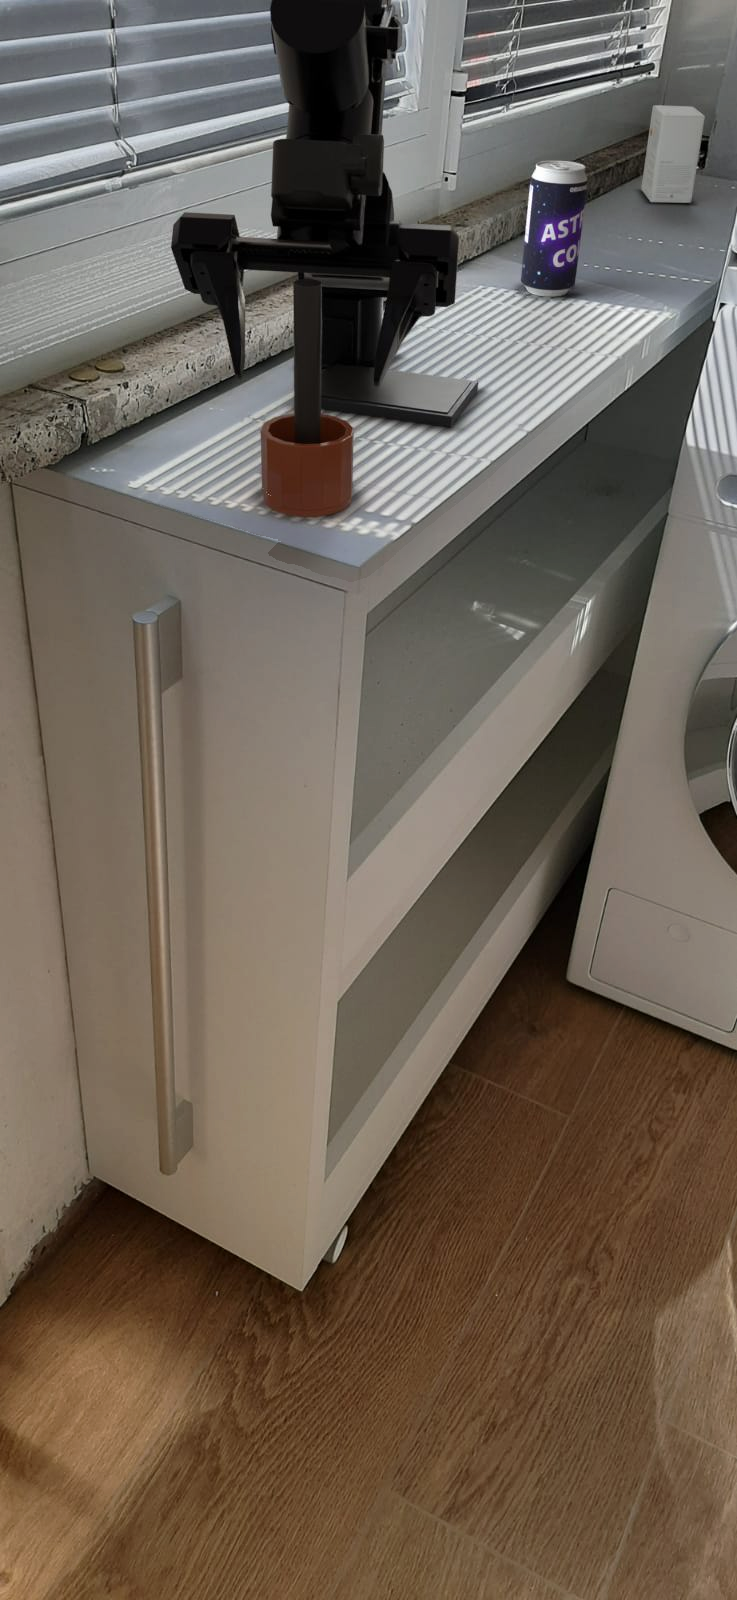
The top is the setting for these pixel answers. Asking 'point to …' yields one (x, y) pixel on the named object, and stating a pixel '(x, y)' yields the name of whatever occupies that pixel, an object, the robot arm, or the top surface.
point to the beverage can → (553, 227)
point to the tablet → (396, 394)
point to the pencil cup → (307, 468)
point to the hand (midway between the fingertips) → (307, 379)
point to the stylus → (307, 360)
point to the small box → (672, 153)
